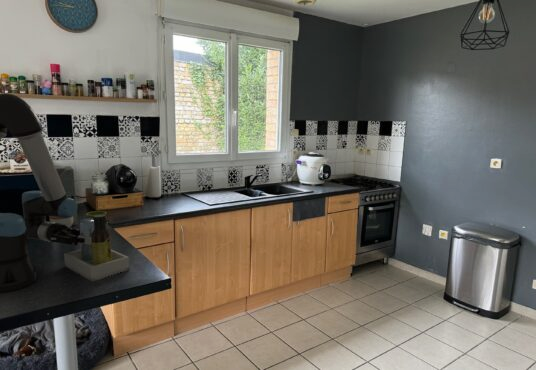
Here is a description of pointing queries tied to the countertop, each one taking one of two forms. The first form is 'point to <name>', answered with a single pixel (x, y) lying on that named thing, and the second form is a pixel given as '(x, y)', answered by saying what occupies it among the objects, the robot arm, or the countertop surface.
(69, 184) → the device
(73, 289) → the countertop surface
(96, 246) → the sauce bottle
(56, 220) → the lidded jar
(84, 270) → the tray
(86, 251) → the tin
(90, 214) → the plant pot
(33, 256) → the countertop surface
